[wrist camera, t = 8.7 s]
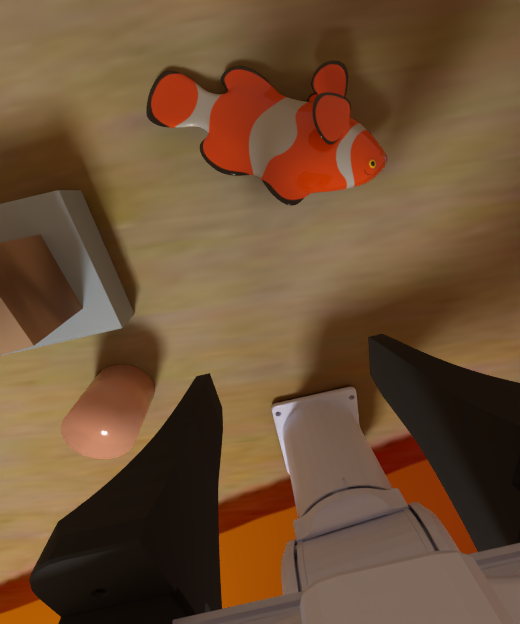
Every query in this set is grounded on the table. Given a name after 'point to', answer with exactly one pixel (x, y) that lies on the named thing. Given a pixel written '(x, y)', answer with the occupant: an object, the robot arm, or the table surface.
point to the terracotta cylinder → (109, 413)
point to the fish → (274, 130)
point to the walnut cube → (31, 294)
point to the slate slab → (71, 259)
